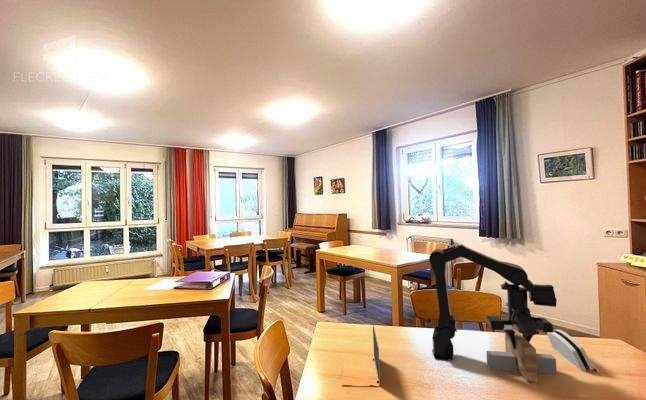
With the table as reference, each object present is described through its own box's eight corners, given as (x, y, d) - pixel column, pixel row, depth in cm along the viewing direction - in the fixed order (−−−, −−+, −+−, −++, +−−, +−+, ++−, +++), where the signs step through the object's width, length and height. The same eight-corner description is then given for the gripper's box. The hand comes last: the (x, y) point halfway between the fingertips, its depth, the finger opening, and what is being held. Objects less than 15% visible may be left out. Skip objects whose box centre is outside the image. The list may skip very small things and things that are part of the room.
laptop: (342, 358, 113) (340, 324, 113) (375, 358, 112) (373, 323, 112) (341, 387, 95) (339, 347, 95) (380, 388, 94) (379, 347, 94)
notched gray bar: (490, 369, 101) (489, 355, 101) (487, 364, 104) (486, 350, 104) (556, 374, 97) (555, 359, 97) (551, 369, 100) (550, 354, 100)
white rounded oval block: (599, 372, 97) (586, 343, 97) (584, 376, 97) (572, 347, 98) (566, 347, 113) (555, 322, 114) (553, 351, 114) (543, 326, 115)
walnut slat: (505, 354, 108) (504, 327, 108) (514, 354, 108) (513, 327, 108) (526, 380, 93) (525, 348, 93) (537, 381, 92) (535, 349, 92)
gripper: (496, 310, 94) (498, 359, 94) (562, 312, 91) (565, 363, 90) (484, 299, 105) (486, 342, 105) (543, 300, 101) (545, 346, 101)
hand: (519, 348), depth 100 cm, fingers closed on walnut slat, 3 cm apart
